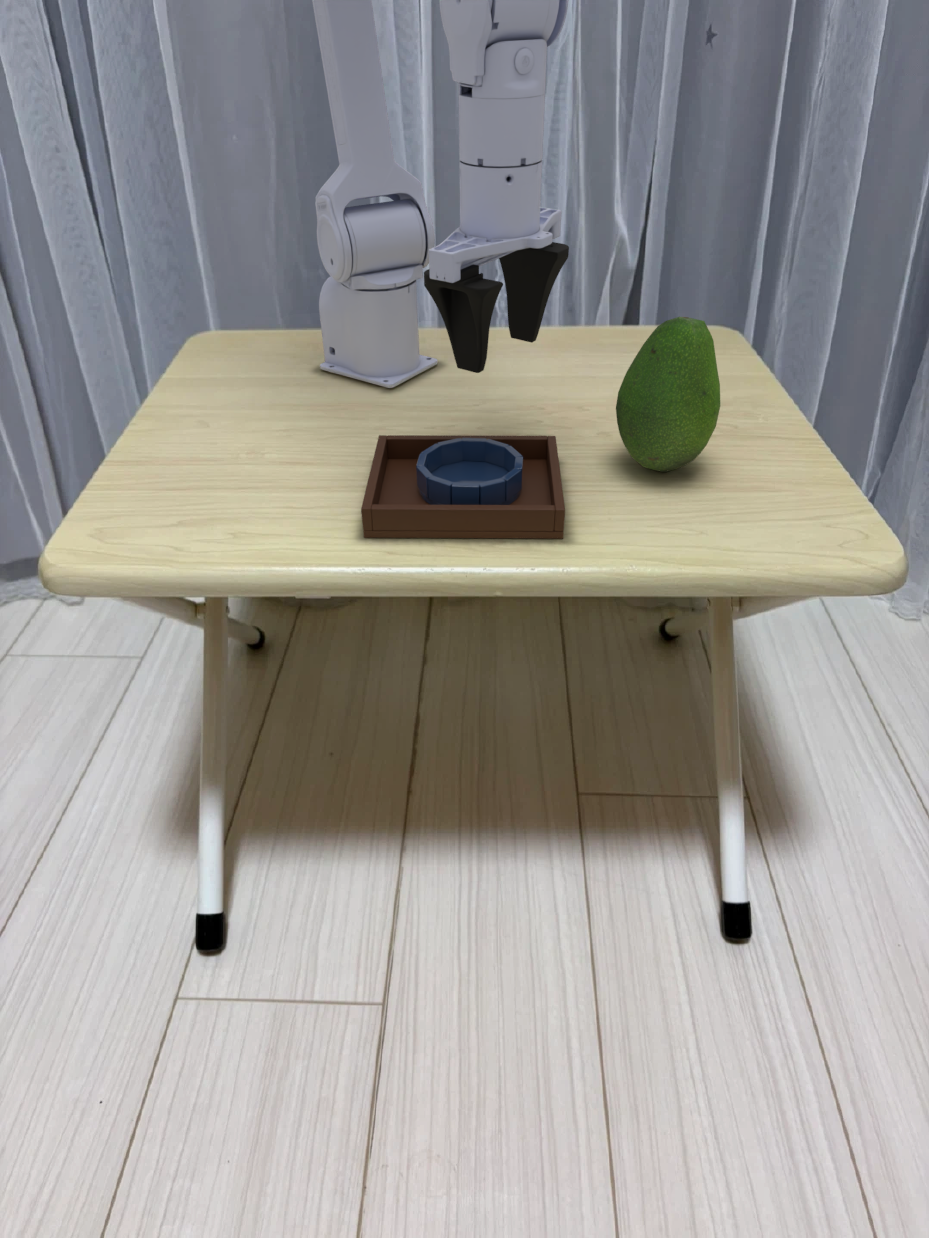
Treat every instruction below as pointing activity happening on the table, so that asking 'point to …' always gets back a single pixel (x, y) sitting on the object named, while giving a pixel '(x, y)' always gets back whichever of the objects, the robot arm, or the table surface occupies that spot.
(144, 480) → the table surface
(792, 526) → the table surface
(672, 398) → the fruit
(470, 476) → the blue faceted bowl
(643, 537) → the table surface
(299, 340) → the table surface
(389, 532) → the tray
